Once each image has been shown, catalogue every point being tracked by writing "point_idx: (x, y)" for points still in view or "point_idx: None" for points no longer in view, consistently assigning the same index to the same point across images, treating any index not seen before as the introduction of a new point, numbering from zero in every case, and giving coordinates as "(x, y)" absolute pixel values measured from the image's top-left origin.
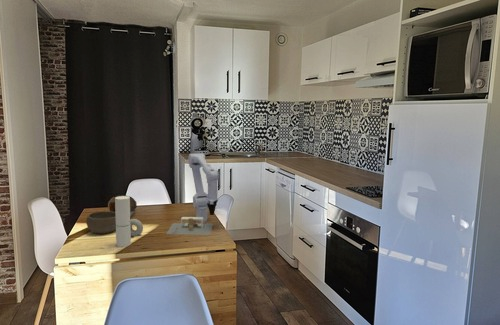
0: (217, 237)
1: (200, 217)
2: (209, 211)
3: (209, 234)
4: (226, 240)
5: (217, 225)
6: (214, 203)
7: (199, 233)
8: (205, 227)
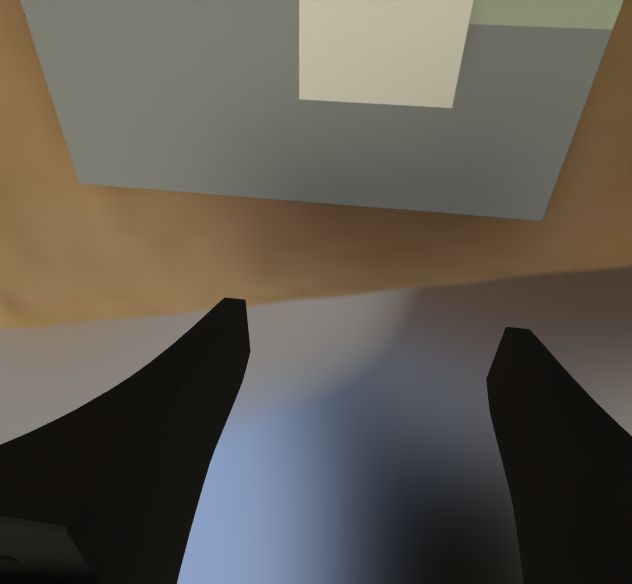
0: (73, 246)
1: (435, 34)
2: (179, 339)
3: (79, 173)
4: (29, 310)
5: (494, 262)
6: (544, 570)
7: (72, 28)
8: (359, 110)
